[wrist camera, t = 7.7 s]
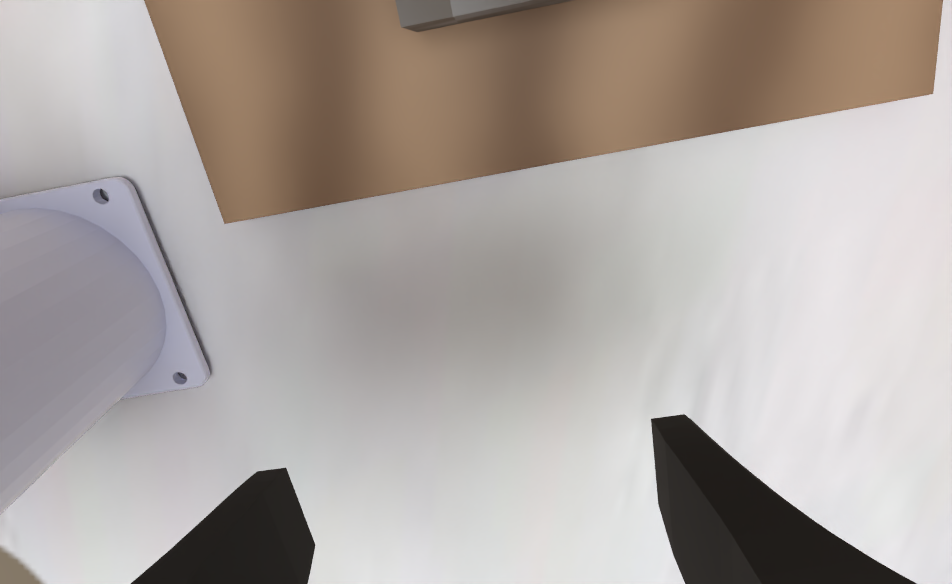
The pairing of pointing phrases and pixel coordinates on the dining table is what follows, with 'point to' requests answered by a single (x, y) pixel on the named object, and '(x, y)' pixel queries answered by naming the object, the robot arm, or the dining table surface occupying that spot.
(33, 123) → the dining table surface
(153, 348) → the robot arm
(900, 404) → the dining table surface
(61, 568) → the dining table surface
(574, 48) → the stand base
